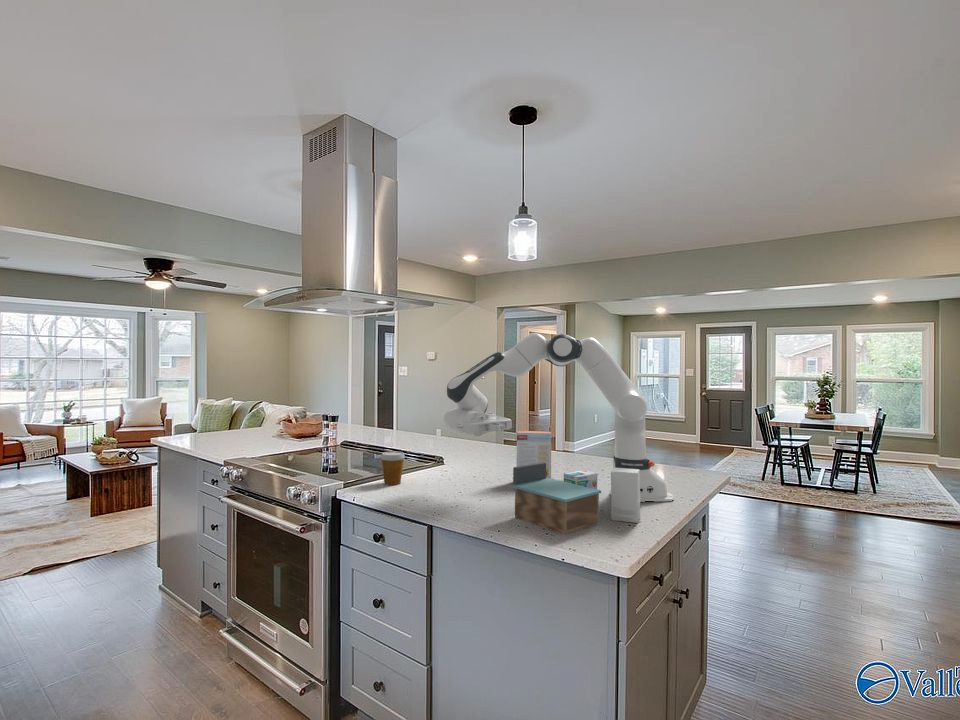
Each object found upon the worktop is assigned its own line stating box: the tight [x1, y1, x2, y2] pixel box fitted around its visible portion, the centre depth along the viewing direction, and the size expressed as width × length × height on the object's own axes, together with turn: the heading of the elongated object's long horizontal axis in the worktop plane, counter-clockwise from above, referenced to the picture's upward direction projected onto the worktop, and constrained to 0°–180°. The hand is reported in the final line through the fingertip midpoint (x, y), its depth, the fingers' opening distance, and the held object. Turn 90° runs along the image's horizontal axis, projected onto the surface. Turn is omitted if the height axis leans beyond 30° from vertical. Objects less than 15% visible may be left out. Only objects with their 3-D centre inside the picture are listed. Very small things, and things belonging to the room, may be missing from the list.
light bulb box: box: [563, 469, 598, 490], centre depth 176 cm, size 11×7×11 cm, turn 126°
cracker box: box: [516, 430, 552, 479], centre depth 206 cm, size 14×6×21 cm, turn 84°
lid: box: [512, 462, 602, 502], centre depth 157 cm, size 22×17×6 cm
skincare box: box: [610, 468, 641, 524], centre depth 159 cm, size 8×7×16 cm
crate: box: [514, 488, 600, 535], centre depth 156 cm, size 20×16×9 cm
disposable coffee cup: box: [380, 450, 406, 486], centre depth 200 cm, size 10×10×12 cm
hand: (502, 428), depth 175 cm, fingers closed
